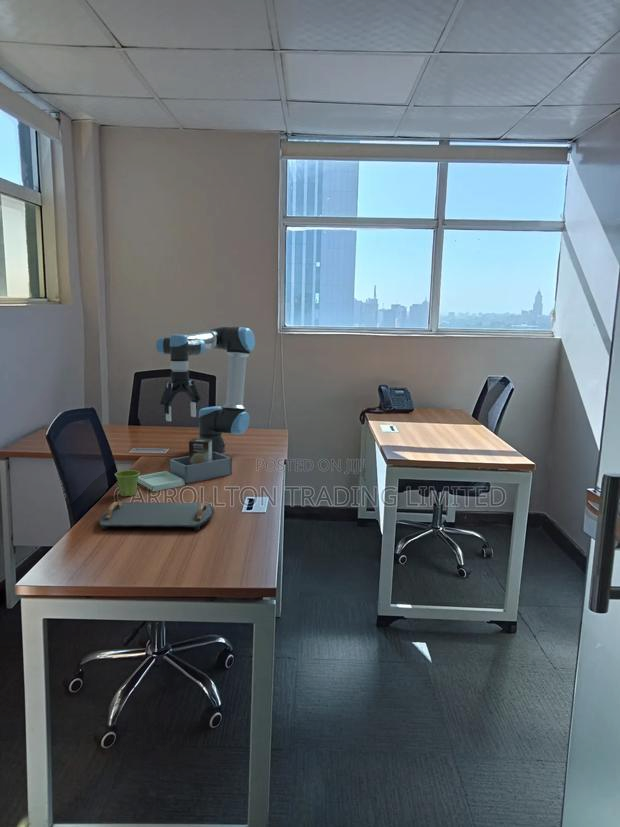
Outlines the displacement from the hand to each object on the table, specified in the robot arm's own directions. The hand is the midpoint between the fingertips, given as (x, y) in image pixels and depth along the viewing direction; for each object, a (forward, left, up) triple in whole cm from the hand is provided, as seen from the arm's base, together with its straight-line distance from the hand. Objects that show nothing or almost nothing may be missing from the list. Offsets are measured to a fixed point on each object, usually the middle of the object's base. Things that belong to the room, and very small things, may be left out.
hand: (181, 418), depth 250 cm
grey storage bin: (-6, +6, -25) cm, 27 cm away
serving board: (+33, +45, -26) cm, 62 cm away
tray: (+14, +7, -25) cm, 30 cm away
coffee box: (-6, +6, -26) cm, 27 cm away
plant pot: (+30, +12, -26) cm, 41 cm away
